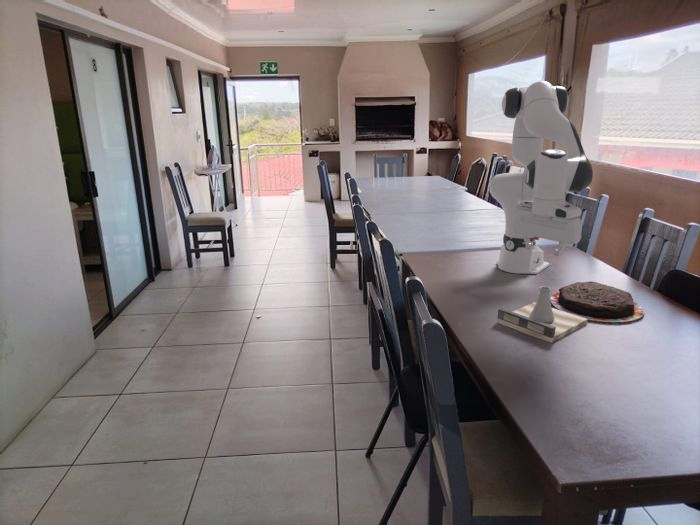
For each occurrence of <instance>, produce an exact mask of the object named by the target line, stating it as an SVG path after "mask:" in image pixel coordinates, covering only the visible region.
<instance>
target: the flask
mask: <svg viewBox="0 0 700 525" xmlns="http://www.w3.org/2000/svg"><path fill="white" fill-rule="evenodd" d="M538 289H539V296H538V298H537V301H536V305H535V307H534V309H533V311H532V313H531V314H530V316H529V317H530V318H531V319H534V320H537V321H540V322H543V323H549V322H553V321H554V319H555V318H554V315H553V311H552V308H553V307H552V305H551V302H550V291H552V288H551V287H549V286H540V287H539V288H538Z"/></svg>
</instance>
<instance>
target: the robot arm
mask: <svg viewBox="0 0 700 525" xmlns="http://www.w3.org/2000/svg"><path fill="white" fill-rule="evenodd" d="M568 94H569V92H568V90H567V89H566V88H565V87H564V86H560V85H554V86H553V84H551V83H550V82H548V81H545V80H541V81H540V80H539V81H535V82H533V83H531V84H530V85H529V86H523V87H519V88H518V87H513V88H510V89H508V90H507V91H506V92H505V93H504V96H503V98H502V101H501V110H502V112H503V115H504V116H505V117H506V118H509V119H513V120H514V119H515V121H514V125H513V131H512V132H513V133H512V140H511V142H512V143H511V153H510V154H511V158H512V160H514V162H515V163H518V164H519V165H521V166H523V167H525V169H526V172H525V173H523V172H522V173H521V172H520V173H519V172H504V173H503V172H502V173H499V174H498V173H497V174H495V175H494V176H493V177H492V178H491V180H490V181H489V185H488V186H489V188H488V189H489V192H490V196H491V197H492V198H493V199H495V200H496V201H497V202H498V204H500V206H501V208H502V209H503V213H504V218H505V230H504V234H503V237H502V243H503V244H501V246H500V252H499V256H498V260H497V261H496V263H495V264H496V265H497V266H498V267H497V268H498V269H499V270H501V271H503V272H506V273H512V274H528V275H529V274H531V275H537V274H539V273H540V272H542V271H544V270H545V269H547V268H548V267H549V266H550V263H549V262H548V261H546V260H544V258H545V253H544V251H543V250H542V249H541V248H540V247H539V246H538V245H537V244H536V243H537V242H536V241H539V240H540V239H545V240H549V241H554V242H558V246H559V247H558V248H556V249H554V251H553V252H554V253H553V256H554V257H555V256H556V257H562V255H563V250H564V249H565V248H566V247H567V245H570V246H571V245H575V244H577V243H579V242H580V241H581V239H582V231H583V230H582V227H583V226H582V225H583V224H582V220H581V218H580V217H579V216H581V215H582V209H581V208H580V207H578V206H576V205H574V204H571V203H570V202H569V201H567V200H566V192H572V193H581V192H583V191H585V189H587V188H588V187H589V186H591V184H592V182H593V177H594V176H593V174H594V173H593V166H592V164H591V161H590V160H589V159H588V158H587V154H586V152H585V150H584V148H583V144H582V142H581V139H580V137H579V133H578V131H577V129H576V126H575V124H574V122H573V121H572V120H570V119H569V118H567V117H566V116H565V115H564V113H565V111H566V110H567V107H568V106H569V95H568ZM544 140H549V141H551V142H554V143H556V144H557V143H558V144H560V145H561V146H562V147H563V149H564V150H560V149H555V148H552V149H550V148H548V149H544V150H543V147H544ZM525 202H527V203H525ZM529 202H530V203H529Z"/></svg>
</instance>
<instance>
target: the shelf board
mask: <svg viewBox="0 0 700 525" xmlns="http://www.w3.org/2000/svg"><path fill="white" fill-rule="evenodd" d="M536 303H537V301H533V302H531V303H528V304H527V305H525V306H522V307H519V308H518V309H515V310H513V311H512V310H508V309H506V308H504V307H503V308H502V307H500V308H498V309H497V317H496V318H497V319H496V323H497V324H501V325H503V326H505V327H509V328H511V329H512V330H517V331H519V332H521V333H524V334H526V335H528V336H531V337H534V338H538V339H540V340H542V341H544V342H548V343H550V344H552V343H554V342H556V341H557V340H559V339H561V338H563V337H565V336H568V335H569V334H571V333H572V332H575V331H576V330H578V329H580V328H581V327H584V326H585V325H587V324H588V321H587V320H588V319H585V318H582V317H579V316H576V315H573V314H570V313H567V312H564V311H560V310H558V309H555V308H554V307H551V308H552V311H553V315H554V318H555V319H554V321H553V322H549V323H543V322H540V321H537V320H534V319H531V318H530V317H529V316H530V314H531V313H532V311H533V309H534V307H535V305H536Z"/></svg>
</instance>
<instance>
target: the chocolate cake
mask: <svg viewBox="0 0 700 525" xmlns="http://www.w3.org/2000/svg"><path fill="white" fill-rule="evenodd" d="M549 298H550V304H551V307H552V308H554V309H557V310H560V311H564V312H567V313H570V314H573V315H576V316H579V317H582V318H585V319H588V320H587V323H588V322H589V323H590V322H592V323H593V322H594V323H595V322H596V323H600V324H607V323H608V324H610V325H622V324H627V323H630V322H634V321H637V320H640V319H641V318H642V317H644V315H645V310H644V308H643V307H642V306H641V305H640V304H639V303H638V302H636V301H635V300H634V299H633V296H632V294H631V293H630V292H629V291H626V290H623V289H620V288H617V287H614V286H611V285H607V284H604V283H599V282H596V281H583V282H578V281H577V282H574V283H571V284H568V285H565V286H562V287H560V288H559V289H558V291H556V292H554V293H553V294H552V295H551V296H549Z"/></svg>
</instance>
